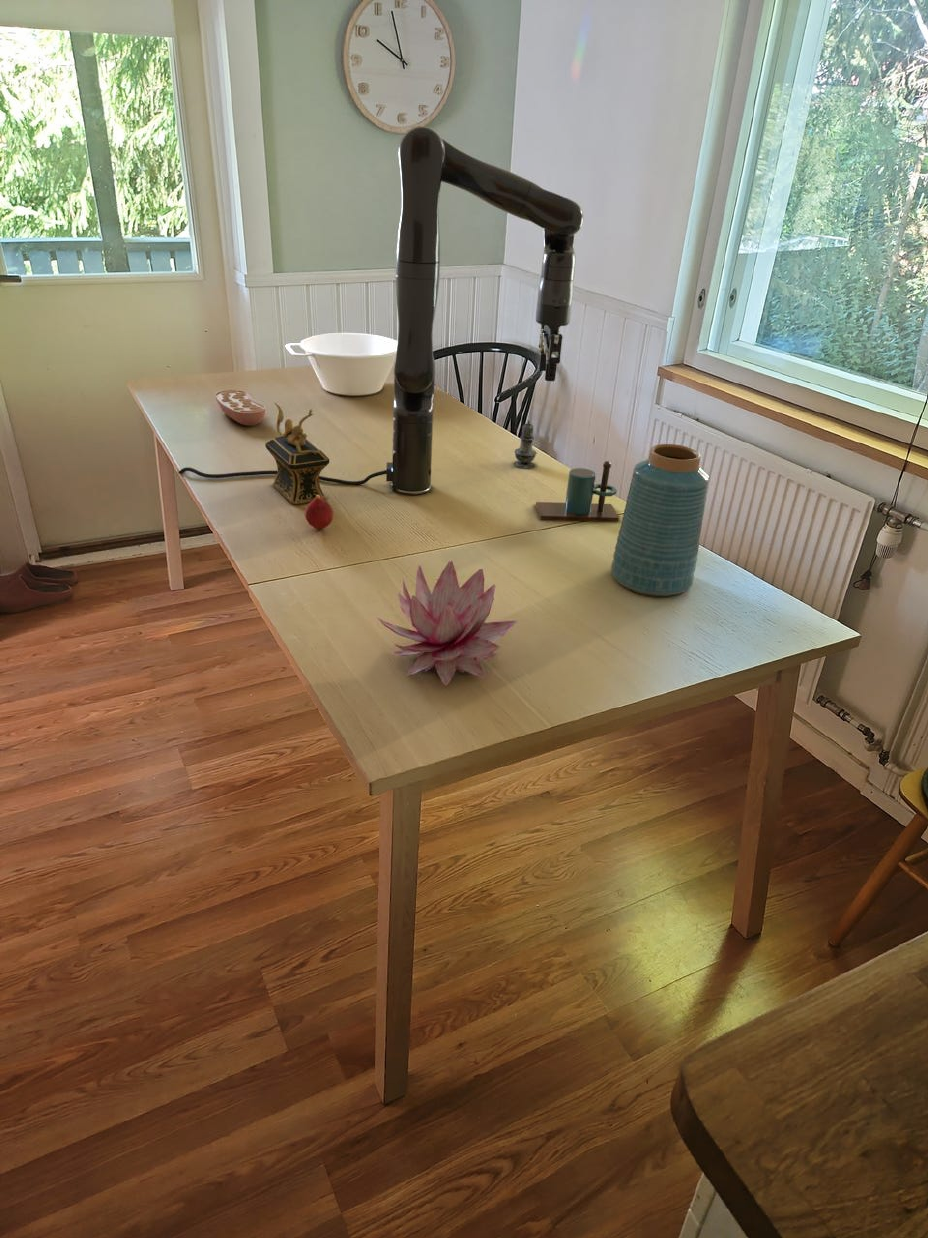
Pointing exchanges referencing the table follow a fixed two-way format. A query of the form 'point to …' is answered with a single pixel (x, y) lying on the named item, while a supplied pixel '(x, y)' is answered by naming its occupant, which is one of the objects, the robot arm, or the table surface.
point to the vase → (662, 522)
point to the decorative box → (296, 462)
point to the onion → (319, 513)
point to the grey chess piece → (525, 448)
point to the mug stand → (596, 514)
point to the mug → (583, 491)
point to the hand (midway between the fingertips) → (546, 375)
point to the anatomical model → (240, 407)
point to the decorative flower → (450, 624)
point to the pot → (349, 361)
